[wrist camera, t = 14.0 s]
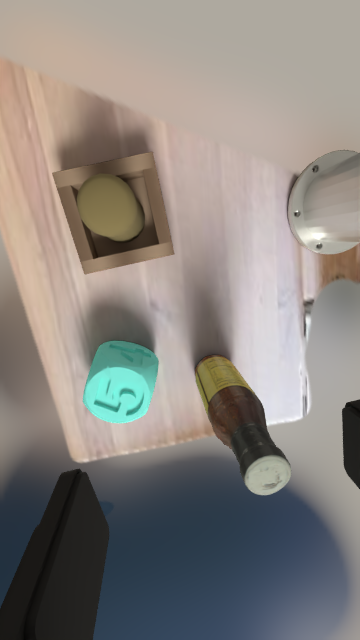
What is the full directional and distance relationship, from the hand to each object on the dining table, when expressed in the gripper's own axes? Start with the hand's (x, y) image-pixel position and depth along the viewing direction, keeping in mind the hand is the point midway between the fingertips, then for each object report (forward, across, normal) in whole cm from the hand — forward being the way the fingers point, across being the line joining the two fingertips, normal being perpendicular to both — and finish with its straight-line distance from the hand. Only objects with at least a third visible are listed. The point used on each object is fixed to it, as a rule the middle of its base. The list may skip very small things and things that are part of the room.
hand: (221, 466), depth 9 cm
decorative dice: (+29, +9, +8) cm, 31 cm away
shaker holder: (+28, +4, -12) cm, 31 cm away
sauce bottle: (+28, -4, +12) cm, 31 cm away
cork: (+28, +4, -12) cm, 30 cm away
